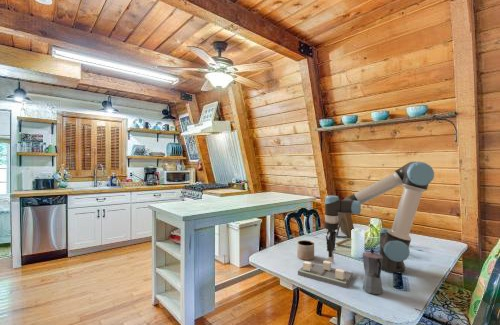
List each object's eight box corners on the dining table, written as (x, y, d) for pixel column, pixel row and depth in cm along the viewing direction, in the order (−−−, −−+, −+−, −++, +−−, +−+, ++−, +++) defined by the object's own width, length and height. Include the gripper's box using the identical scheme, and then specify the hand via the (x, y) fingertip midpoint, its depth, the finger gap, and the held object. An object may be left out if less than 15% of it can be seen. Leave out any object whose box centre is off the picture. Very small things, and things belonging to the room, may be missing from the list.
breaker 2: (344, 277, 137) (344, 270, 137) (343, 280, 134) (343, 272, 134) (336, 275, 139) (336, 268, 139) (335, 278, 137) (335, 270, 137)
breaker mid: (331, 268, 148) (331, 261, 148) (329, 270, 145) (329, 263, 145) (324, 267, 150) (324, 260, 150) (322, 269, 148) (322, 262, 147)
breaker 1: (311, 269, 147) (311, 262, 147) (309, 271, 144) (309, 264, 144) (305, 267, 149) (305, 260, 149) (302, 269, 147) (303, 262, 147)
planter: (314, 261, 165) (314, 246, 165) (297, 259, 167) (297, 245, 167) (313, 255, 175) (314, 240, 175) (297, 253, 178) (297, 239, 177)
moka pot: (374, 283, 136) (375, 245, 136) (391, 299, 121) (392, 256, 120) (356, 283, 136) (357, 245, 135) (371, 299, 120) (372, 256, 120)
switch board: (352, 276, 144) (352, 272, 144) (345, 287, 131) (345, 283, 131) (307, 265, 158) (307, 262, 158) (297, 274, 146) (297, 270, 146)
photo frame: (345, 231, 230) (345, 203, 230) (356, 239, 209) (356, 208, 208) (329, 231, 230) (329, 203, 230) (338, 239, 208) (337, 208, 208)
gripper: (328, 218, 161) (328, 256, 161) (321, 223, 150) (321, 263, 151) (341, 220, 157) (340, 259, 157) (334, 225, 146) (334, 267, 146)
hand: (330, 261), depth 154 cm, fingers closed
